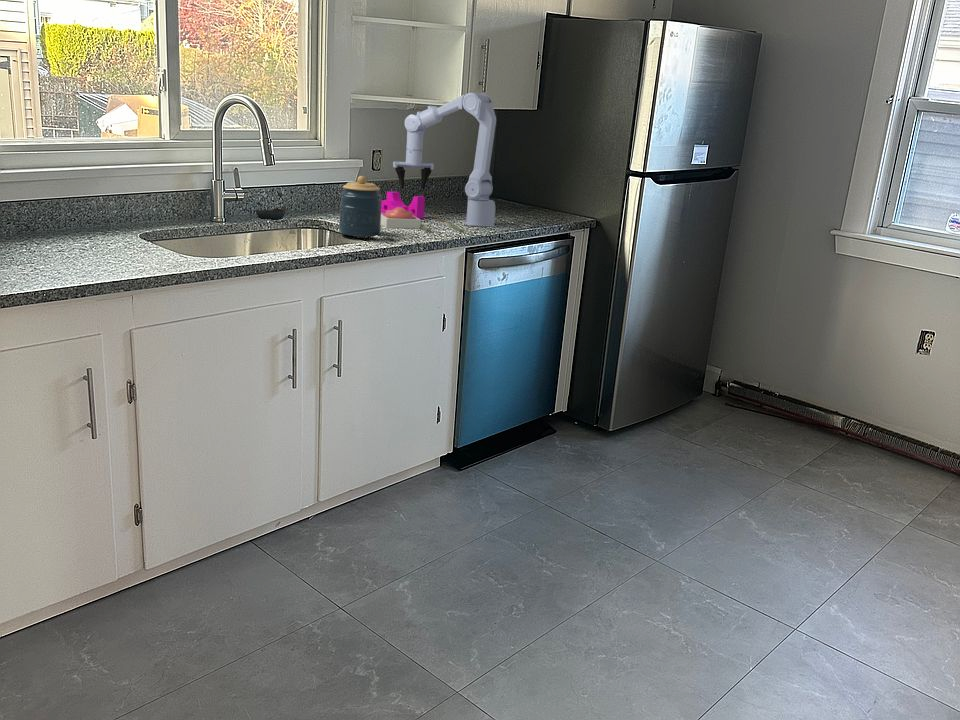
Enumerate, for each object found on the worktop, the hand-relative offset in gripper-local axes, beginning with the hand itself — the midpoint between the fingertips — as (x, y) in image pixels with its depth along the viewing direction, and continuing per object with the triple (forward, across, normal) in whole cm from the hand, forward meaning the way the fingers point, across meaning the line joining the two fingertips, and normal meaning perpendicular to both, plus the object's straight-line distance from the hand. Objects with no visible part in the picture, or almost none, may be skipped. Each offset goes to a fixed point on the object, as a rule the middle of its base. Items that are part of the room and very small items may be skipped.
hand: (412, 188), depth 316 cm
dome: (+11, +10, +22) cm, 27 cm away
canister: (+10, +28, +40) cm, 50 cm away
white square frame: (+10, +10, +22) cm, 26 cm away
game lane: (+10, -2, +17) cm, 20 cm away
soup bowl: (+13, +51, +6) cm, 53 cm away
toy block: (+9, +4, +4) cm, 11 cm away
